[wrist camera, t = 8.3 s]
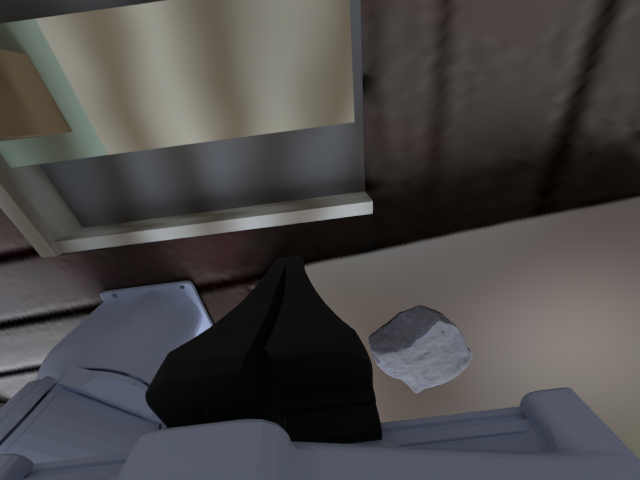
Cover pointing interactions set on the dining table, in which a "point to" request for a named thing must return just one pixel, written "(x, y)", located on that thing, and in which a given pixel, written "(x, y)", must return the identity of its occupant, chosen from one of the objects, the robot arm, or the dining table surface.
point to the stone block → (420, 348)
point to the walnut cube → (26, 101)
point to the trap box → (186, 119)
